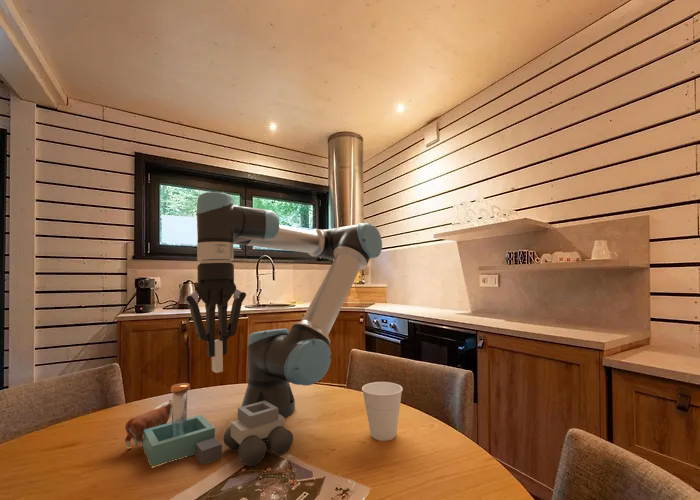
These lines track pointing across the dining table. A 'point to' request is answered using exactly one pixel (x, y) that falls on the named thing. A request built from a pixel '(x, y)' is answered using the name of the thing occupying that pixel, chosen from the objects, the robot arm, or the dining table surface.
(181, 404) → the glass jar
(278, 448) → the trolley
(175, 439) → the tray
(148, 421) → the bull figurine
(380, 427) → the cup
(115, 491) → the dining table surface
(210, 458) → the block
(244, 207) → the robot arm
